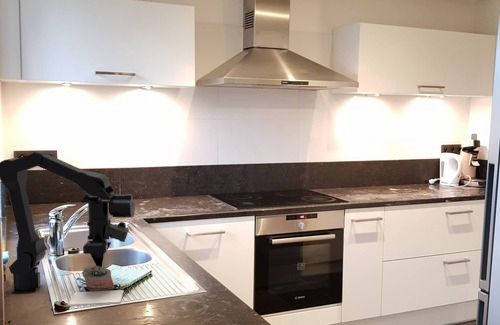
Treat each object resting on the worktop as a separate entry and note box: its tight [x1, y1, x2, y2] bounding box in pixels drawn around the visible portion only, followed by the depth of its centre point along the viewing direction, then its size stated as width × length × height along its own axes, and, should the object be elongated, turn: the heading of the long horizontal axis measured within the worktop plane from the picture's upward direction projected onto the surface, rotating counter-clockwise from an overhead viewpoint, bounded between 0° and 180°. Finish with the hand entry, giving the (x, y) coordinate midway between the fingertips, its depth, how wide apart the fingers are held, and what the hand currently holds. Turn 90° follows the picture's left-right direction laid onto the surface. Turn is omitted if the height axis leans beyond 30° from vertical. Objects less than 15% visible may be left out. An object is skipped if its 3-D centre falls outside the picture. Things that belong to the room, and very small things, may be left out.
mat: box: [67, 289, 125, 307], centre depth 139 cm, size 14×9×1 cm, turn 99°
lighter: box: [81, 265, 115, 292], centre depth 142 cm, size 8×3×10 cm
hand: (100, 268), depth 145 cm, fingers closed
